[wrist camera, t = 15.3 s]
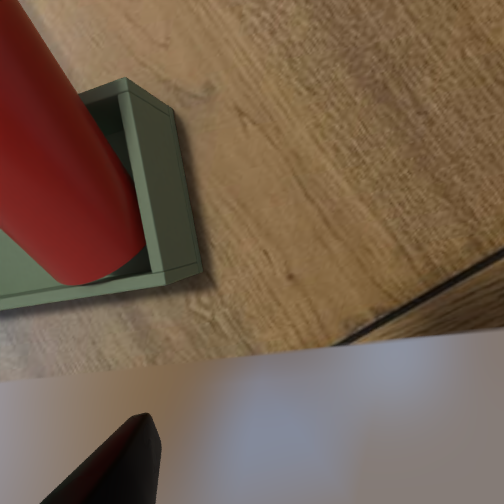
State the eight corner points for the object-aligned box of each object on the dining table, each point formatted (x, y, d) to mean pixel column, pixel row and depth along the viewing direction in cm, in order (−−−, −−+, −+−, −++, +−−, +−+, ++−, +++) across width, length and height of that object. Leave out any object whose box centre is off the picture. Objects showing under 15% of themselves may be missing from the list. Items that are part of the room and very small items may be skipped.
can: (175, 227, 17) (4, -55, 10) (68, 306, 15) (-251, 23, 8) (132, 198, 22) (-9, -13, 14) (44, 256, 20) (-174, 45, 12)
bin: (203, 271, 20) (166, 285, 16) (-35, 309, 26) (-111, 327, 22) (172, 108, 20) (125, 75, 16) (-63, 183, 26) (-146, 175, 21)
